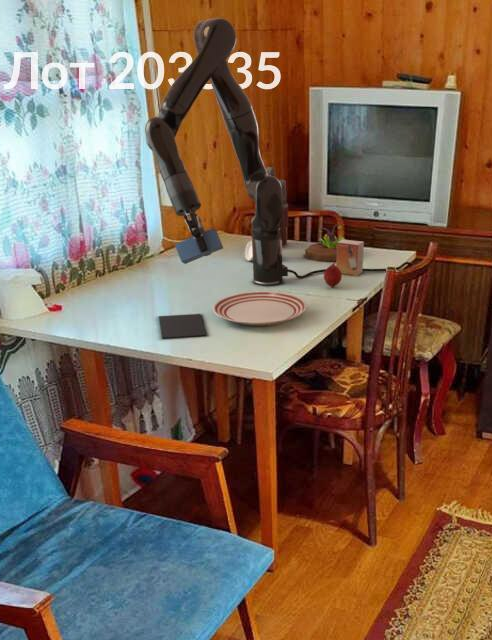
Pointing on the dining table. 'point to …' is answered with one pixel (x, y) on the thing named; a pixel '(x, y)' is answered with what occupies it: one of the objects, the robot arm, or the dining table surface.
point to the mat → (181, 326)
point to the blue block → (191, 251)
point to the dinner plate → (260, 308)
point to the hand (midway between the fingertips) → (206, 253)
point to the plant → (325, 247)
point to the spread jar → (250, 254)
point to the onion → (332, 275)
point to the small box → (350, 257)
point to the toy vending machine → (284, 208)
